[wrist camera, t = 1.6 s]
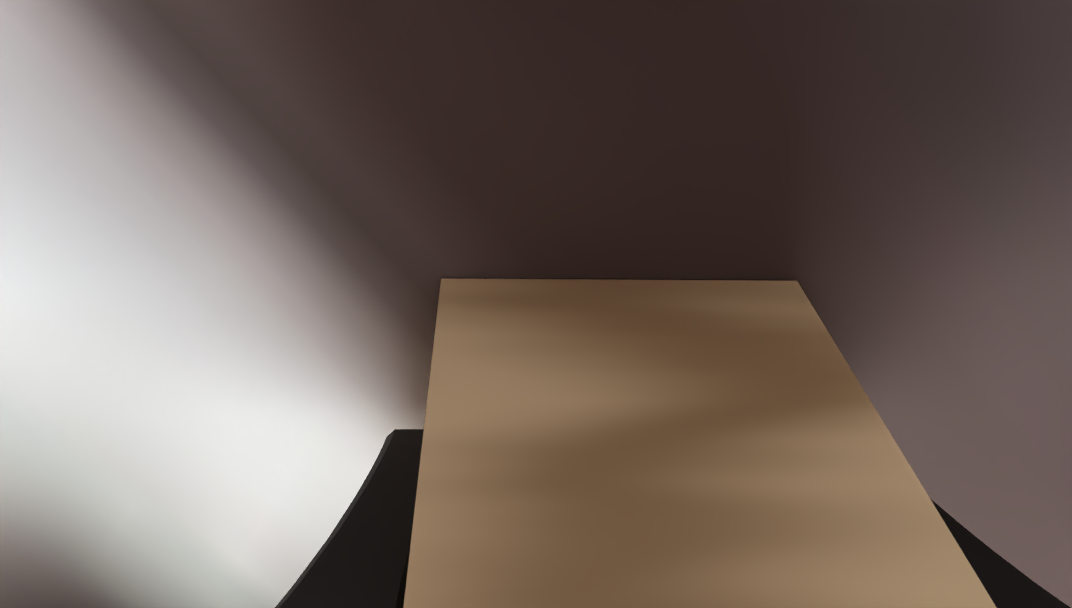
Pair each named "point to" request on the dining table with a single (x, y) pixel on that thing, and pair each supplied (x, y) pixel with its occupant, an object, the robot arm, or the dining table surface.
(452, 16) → the dining table surface
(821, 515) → the block
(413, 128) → the dining table surface
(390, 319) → the dining table surface
